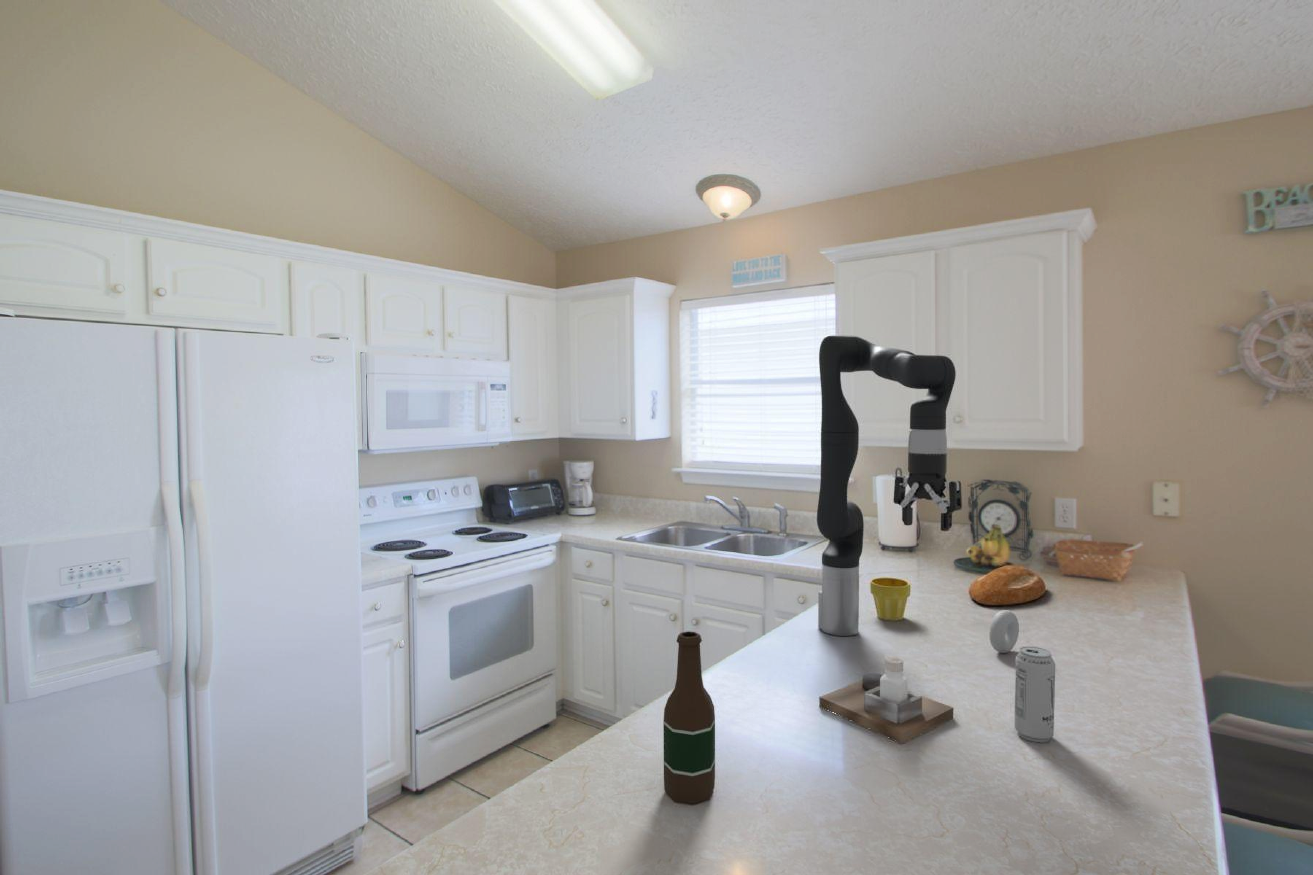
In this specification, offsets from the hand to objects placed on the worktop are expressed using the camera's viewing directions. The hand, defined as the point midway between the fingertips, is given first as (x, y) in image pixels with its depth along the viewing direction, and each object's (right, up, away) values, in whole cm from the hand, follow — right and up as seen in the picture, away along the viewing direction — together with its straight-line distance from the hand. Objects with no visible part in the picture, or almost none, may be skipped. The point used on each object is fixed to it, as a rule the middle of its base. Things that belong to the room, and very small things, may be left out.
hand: (926, 527), depth 143 cm
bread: (+50, -29, +64) cm, 86 cm away
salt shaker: (-13, -31, -19) cm, 39 cm away
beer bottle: (-52, -35, -41) cm, 74 cm away
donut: (+24, -32, +16) cm, 43 cm away
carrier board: (-14, -33, -15) cm, 39 cm away
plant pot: (+7, -30, +43) cm, 53 cm away
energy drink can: (+9, -33, -24) cm, 42 cm away
